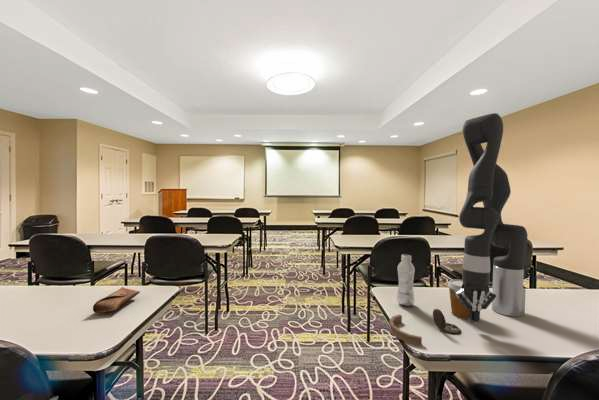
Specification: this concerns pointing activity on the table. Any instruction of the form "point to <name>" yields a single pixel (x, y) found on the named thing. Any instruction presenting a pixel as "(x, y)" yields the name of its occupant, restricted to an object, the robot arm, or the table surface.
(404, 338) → the brown segmented arc
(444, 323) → the compass
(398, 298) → the plastic bottle
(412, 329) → the table surface
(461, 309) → the disposable coffee cup
